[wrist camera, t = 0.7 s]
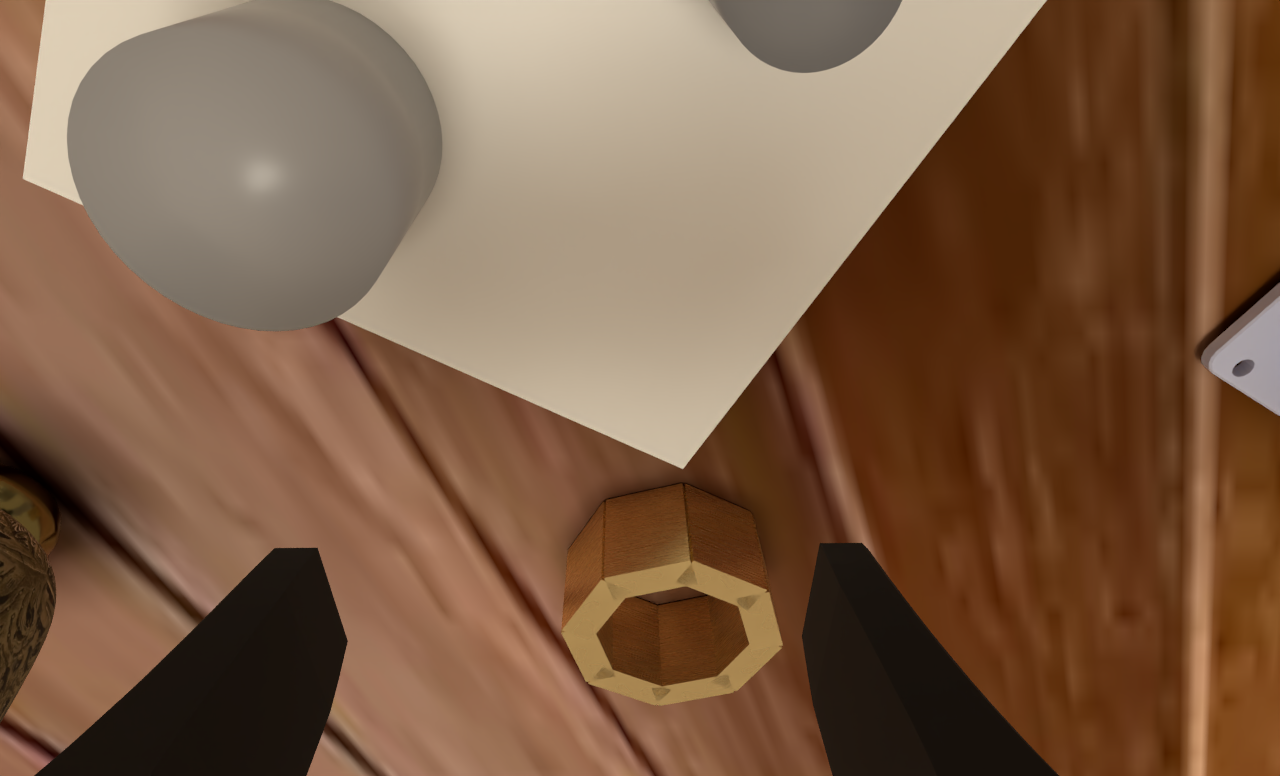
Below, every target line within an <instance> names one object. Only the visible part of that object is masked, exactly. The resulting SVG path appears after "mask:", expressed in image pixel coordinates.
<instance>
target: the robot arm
mask: <svg viewBox="0 0 1280 776" xmlns="http://www.w3.org/2000/svg"><path fill="white" fill-rule="evenodd" d="M1242 360H1243V361H1242ZM1241 361H1242V362H1241ZM1201 362H1202V364H1203V365H1204V367H1205V368H1207V369H1208V370H1209V371H1210V372H1211V373H1213V374H1214V375H1216V376H1217V377H1219V378H1220V379H1222V380H1224V381H1225V382H1227V383H1228V384H1230V385H1231V386H1233V387H1235V388H1236V389H1238V390H1239V391H1241V392H1242V393H1244V394H1246V395H1247V396H1249V397H1250V398H1252V399H1253V400H1255V401H1257V402H1258V403H1260V404H1261V405H1263V406H1264V407H1266V408H1268V409H1269V410H1271V411H1272V412H1274V413H1275V414H1277V415H1279V416H1280V283H1278V284H1277V285H1276V286H1275V287H1274V288H1273V289H1272V290H1270V291H1269V292H1268V293H1267V294H1266V295H1265V296H1264V297H1263V298H1261V299H1260V300H1259V301H1258V302H1257V303H1256V304H1255V305H1253V306H1252V307H1251V308H1250V309H1249V310H1248V311H1247V312H1246V313H1244V314H1243V315H1242V316H1241V317H1240V318H1239V319H1238V320H1236V321H1235V322H1234V323H1233V324H1232V325H1231V326H1230V327H1229V328H1227V329H1226V330H1225V331H1224V332H1223V333H1222V334H1221V335H1219V336H1218V337H1217V338H1216V339H1215V340H1214V341H1213V342H1212V343H1210V344H1209V345H1208V347H1207V348H1206V349H1205V350H1204V352H1203V354H1202V357H1201ZM1239 362H1241V363H1240V364H1239V365H1238V366H1236V367H1235V365H1236V364H1237V363H1239ZM802 639H803V645H804V652H805V658H806V665H807V671H808V677H809V683H810V689H811V695H812V700H813V706H814V710H815V713H816V717H817V721H818V724H819V728H820V732H821V735H822V739H823V742H824V746H825V750H826V753H827V757H828V760H829V764H830V768H831V771H832V775H833V776H1059V775H1058V774H1057V773H1056V772H1055V771H1054V770H1053V769H1052V768H1051V767H1050V766H1049V765H1048V764H1047V763H1046V762H1045V761H1044V760H1043V759H1042V758H1041V757H1040V756H1039V755H1038V754H1037V753H1036V752H1035V750H1034V749H1033V748H1032V747H1031V746H1030V745H1029V744H1028V743H1027V742H1026V741H1025V740H1024V739H1023V738H1022V737H1021V736H1020V735H1019V734H1018V732H1017V731H1016V730H1015V729H1014V728H1013V727H1012V726H1011V725H1010V724H1009V723H1008V722H1007V720H1006V719H1005V718H1004V717H1003V716H1002V715H1001V714H1000V713H999V712H998V711H997V709H996V708H995V707H994V706H993V705H992V704H991V703H990V702H989V701H988V699H987V698H986V697H985V696H984V695H983V694H982V693H981V691H980V690H979V689H978V688H977V687H976V686H975V685H974V683H973V682H972V681H971V680H970V679H969V678H968V676H967V675H966V674H965V673H964V672H963V670H962V669H961V668H960V667H959V666H958V664H957V663H956V662H955V661H954V660H953V658H952V657H951V656H950V655H949V654H948V652H947V651H946V650H945V649H944V648H943V646H942V645H941V644H940V643H939V642H938V640H937V639H936V638H935V637H934V635H933V634H932V633H931V632H930V630H929V629H928V628H927V627H926V625H925V624H924V623H923V622H922V620H921V619H920V618H919V616H918V615H917V614H916V613H915V611H914V610H913V609H912V607H911V606H910V605H909V603H908V602H907V601H906V600H905V598H904V597H903V596H902V594H901V593H900V592H899V590H898V589H897V588H896V586H895V585H894V584H893V582H892V581H891V580H890V578H889V577H888V576H887V574H886V573H885V572H884V570H883V569H882V567H881V566H880V565H879V563H878V562H877V561H876V559H875V558H874V557H873V555H872V554H871V552H870V551H869V550H868V549H867V548H866V547H865V546H864V545H863V544H862V543H820V546H819V551H818V556H817V561H816V566H815V571H814V577H813V582H812V587H811V592H810V597H809V603H808V608H807V613H806V618H805V623H804V628H803V634H802ZM347 642H348V641H347V638H346V635H345V632H344V628H343V625H342V622H341V619H340V616H339V613H338V610H337V607H336V604H335V601H334V598H333V595H332V591H331V588H330V585H329V582H328V579H327V576H326V573H325V570H324V567H323V564H322V561H321V557H320V554H319V551H318V548H274V549H273V550H272V551H271V552H270V553H269V554H268V555H267V556H266V557H265V558H264V559H263V560H262V561H261V562H260V563H259V564H258V565H257V566H256V567H255V568H254V569H253V570H252V571H251V572H250V573H249V574H248V575H247V576H246V577H245V578H244V579H243V580H242V581H241V582H240V583H239V584H238V585H237V586H236V587H235V588H234V589H233V590H232V591H231V592H230V593H229V594H228V595H227V596H226V597H225V598H224V599H223V600H222V601H221V602H220V603H219V604H218V605H217V606H216V607H215V608H214V609H213V610H212V611H211V612H210V613H209V614H208V615H207V616H206V617H205V618H204V619H203V620H202V621H201V622H200V623H199V624H198V625H197V626H196V627H195V628H194V629H193V630H192V631H191V632H190V633H189V634H188V635H187V636H186V637H185V638H184V639H183V640H182V641H181V642H180V643H179V644H178V645H177V646H176V647H175V648H174V649H173V650H172V651H171V652H170V653H169V654H168V655H167V656H166V657H165V658H164V659H163V660H162V661H161V662H160V663H159V664H158V665H157V666H156V667H154V668H153V669H152V670H151V671H150V672H149V673H148V674H147V675H146V676H145V677H144V678H143V679H142V680H141V681H140V682H139V683H138V684H137V685H136V686H135V687H134V688H133V689H132V690H130V691H129V692H128V693H127V694H126V695H125V696H124V697H123V698H122V699H121V700H119V701H118V702H117V703H116V704H115V705H114V706H113V707H112V708H111V709H110V710H108V711H107V712H106V713H105V714H104V715H103V716H102V717H101V718H100V719H99V720H97V721H96V722H95V723H94V724H93V725H92V726H91V727H90V728H89V729H87V730H86V731H85V732H84V733H83V734H82V735H81V736H80V737H79V738H78V739H76V740H75V741H74V742H73V743H72V744H71V745H70V746H69V747H67V748H66V749H65V750H64V751H63V752H62V753H60V754H59V755H58V756H57V757H56V758H55V759H53V760H52V761H51V762H50V763H49V764H48V765H46V766H45V767H44V768H43V769H42V770H40V771H39V772H38V773H37V774H36V775H34V776H306V775H307V772H308V770H309V767H310V765H311V762H312V759H313V757H314V754H315V751H316V749H317V746H318V743H319V741H320V738H321V735H322V733H323V730H324V727H325V724H326V722H327V719H328V716H329V713H330V710H331V707H332V703H333V699H334V695H335V691H336V688H337V684H338V680H339V676H340V671H341V667H342V663H343V659H344V654H345V650H346V646H347Z"/></svg>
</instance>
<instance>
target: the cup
mask: <svg viewBox="0 0 1280 776" xmlns="http://www.w3.org/2000/svg"><path fill="white" fill-rule="evenodd" d="M60 528H61V513H60V510H59V507H58V505H57V503H56V501H55V499H54V498H53V496H52V495H51V494H50V493H49V492H48V491H47V489H46V488H45V487H43V486H42V485H41V484H40V483H39V482H37V481H36V480H35V479H33V478H32V477H30V476H29V475H27V474H25V473H24V472H22V471H20V470H18V469H15V468H13V467H11V466H8V465H5V464H2V463H0V722H1V721H2V719H3V717H4V716H5V714H6V712H7V710H8V709H9V707H10V705H11V704H12V702H13V700H14V698H15V697H16V695H17V693H18V691H19V690H20V688H21V686H22V684H23V682H24V681H25V679H26V677H27V675H28V673H29V671H30V670H31V668H32V666H33V664H34V662H35V660H36V658H37V656H38V654H39V652H40V650H41V648H42V645H43V643H44V641H45V639H46V636H47V634H48V631H49V628H50V626H51V623H52V619H53V615H54V609H55V604H56V583H55V577H54V573H53V570H52V567H51V564H50V561H49V559H48V557H47V555H48V554H49V553H50V552H51V551H52V550H53V548H54V547H55V545H56V543H57V541H58V537H59V533H60Z"/></svg>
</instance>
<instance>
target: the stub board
mask: <svg viewBox="0 0 1280 776" xmlns="http://www.w3.org/2000/svg"><path fill="white" fill-rule="evenodd" d="M1045 2H1046V0H46V3H45V11H44V19H43V27H42V34H41V42H40V50H39V57H38V65H37V73H36V81H35V88H34V96H33V104H32V112H31V119H30V127H29V135H28V143H27V150H26V158H25V166H24V174H23V179H25V180H27V181H29V182H31V183H34V184H36V185H38V186H40V187H43V188H45V189H47V190H50V191H52V192H54V193H56V194H59V195H61V196H63V197H66V198H68V199H70V200H72V201H75V202H77V203H79V204H81V205H84V208H85V210H86V212H87V214H88V216H89V218H90V219H91V221H92V222H93V224H94V225H95V227H96V229H97V230H98V232H99V233H100V235H101V236H102V238H103V239H104V240H105V241H106V243H107V244H108V245H109V246H110V248H111V249H112V250H113V252H114V253H115V254H116V255H117V256H118V257H119V258H120V259H121V260H122V261H123V262H124V263H125V264H126V265H127V266H128V267H129V269H131V270H132V271H133V272H134V273H135V274H136V275H137V276H139V277H140V278H141V279H142V280H143V281H144V282H146V283H147V284H148V285H149V286H151V287H152V288H154V289H155V290H156V291H158V292H159V293H161V294H162V295H163V296H165V297H167V298H168V299H170V300H172V301H173V302H175V303H177V304H178V305H180V306H182V307H184V308H186V309H188V310H190V311H192V312H194V313H197V314H199V315H201V316H203V317H206V318H209V319H212V320H214V321H217V322H220V323H224V324H227V325H231V326H235V327H239V328H245V329H252V330H258V331H289V330H298V329H303V328H308V327H313V326H316V325H319V324H322V323H325V322H328V321H330V320H332V319H334V318H336V317H338V318H341V319H343V320H345V321H347V322H350V323H352V324H354V325H357V326H359V327H361V328H363V329H366V330H368V331H370V332H372V333H375V334H377V335H379V336H382V337H384V338H386V339H388V340H391V341H393V342H395V343H397V344H400V345H402V346H404V347H407V348H409V349H411V350H413V351H416V352H418V353H420V354H422V355H425V356H427V357H429V358H432V359H434V360H436V361H438V362H441V363H443V364H445V365H447V366H450V367H452V368H454V369H457V370H459V371H461V372H463V373H466V374H468V375H470V376H473V377H475V378H477V379H479V380H482V381H484V382H486V383H488V384H491V385H493V386H495V387H498V388H500V389H502V390H504V391H507V392H509V393H511V394H513V395H516V396H518V397H520V398H523V399H525V400H527V401H529V402H532V403H534V404H536V405H538V406H541V407H543V408H545V409H548V410H550V411H552V412H554V413H557V414H559V415H561V416H563V417H566V418H568V419H570V420H573V421H575V422H577V423H579V424H582V425H584V426H586V427H588V428H591V429H593V430H595V431H598V432H600V433H602V434H604V435H607V436H609V437H611V438H613V439H616V440H618V441H620V442H623V443H625V444H627V445H629V446H632V447H634V448H636V449H638V450H641V451H643V452H645V453H648V454H650V455H652V456H654V457H657V458H659V459H661V460H663V461H666V462H668V463H670V464H673V465H675V466H677V467H679V468H682V469H683V468H684V467H685V466H686V464H687V463H688V462H689V460H690V459H691V458H692V457H693V455H694V454H695V453H696V451H697V450H698V449H699V448H700V446H701V445H702V444H703V442H704V441H705V440H706V439H707V437H708V436H709V435H710V433H711V432H712V431H713V430H714V428H715V427H716V426H717V424H718V423H719V422H720V421H721V419H722V418H723V417H724V415H725V414H726V413H727V412H728V410H729V409H730V408H731V406H732V405H733V404H734V403H735V401H736V400H737V399H738V397H739V396H740V395H741V393H742V392H743V391H744V390H745V388H746V387H747V386H748V384H749V383H750V382H751V381H752V379H753V378H754V377H755V375H756V374H757V373H758V372H759V370H760V369H761V368H762V366H763V365H764V364H765V363H766V361H767V360H768V359H769V357H770V356H771V355H772V354H773V352H774V351H775V350H776V348H777V347H778V346H779V345H780V343H781V342H782V341H783V339H784V338H785V337H786V336H787V334H788V333H789V332H790V330H791V329H792V328H793V326H794V325H795V324H796V323H797V321H798V320H799V319H800V317H801V316H802V315H803V314H804V312H805V311H806V310H807V308H808V307H809V306H810V305H811V303H812V302H813V301H814V299H815V298H816V297H817V296H818V294H819V293H820V292H821V290H822V289H823V288H824V287H825V285H826V284H827V283H828V281H829V280H830V279H831V278H832V276H833V275H834V274H835V272H836V271H837V270H838V268H839V267H840V266H841V265H842V263H843V262H844V261H845V259H846V258H847V257H848V256H849V254H850V253H851V252H852V250H853V249H854V248H855V247H856V245H857V244H858V243H859V241H860V240H861V239H862V238H863V236H864V235H865V234H866V232H867V231H868V230H869V229H870V227H871V226H872V225H873V223H874V222H875V221H876V220H877V218H878V217H879V216H880V214H881V213H882V212H883V211H884V209H885V208H886V207H887V205H888V204H889V203H890V201H891V200H892V199H893V198H894V196H895V195H896V194H897V192H898V191H899V190H900V189H901V187H902V186H903V185H904V183H905V182H906V181H907V180H908V178H909V177H910V176H911V174H912V173H913V172H914V171H915V169H916V168H917V167H918V165H919V164H920V163H921V162H922V160H923V159H924V158H925V156H926V155H927V154H928V153H929V151H930V150H931V149H932V147H933V146H934V145H935V144H936V142H937V141H938V140H939V138H940V137H941V136H942V134H943V133H944V132H945V131H946V129H947V128H948V127H949V125H950V124H951V123H952V122H953V120H954V119H955V118H956V116H957V115H958V114H959V113H960V111H961V110H962V109H963V107H964V106H965V105H966V104H967V102H968V101H969V100H970V98H971V97H972V96H973V95H974V93H975V92H976V91H977V89H978V88H979V87H980V86H981V84H982V83H983V82H984V80H985V79H986V78H987V77H988V75H989V74H990V73H991V71H992V70H993V69H994V67H995V66H996V65H997V64H998V62H999V61H1000V60H1001V58H1002V57H1003V56H1004V55H1005V53H1006V52H1007V51H1008V49H1009V48H1010V47H1011V46H1012V44H1013V43H1014V42H1015V40H1016V39H1017V38H1018V37H1019V35H1020V34H1021V33H1022V31H1023V30H1024V29H1025V28H1026V26H1027V25H1028V24H1029V22H1030V21H1031V20H1032V19H1033V17H1034V16H1035V15H1036V13H1037V12H1038V11H1039V10H1040V8H1041V7H1042V6H1043V4H1044V3H1045Z"/></svg>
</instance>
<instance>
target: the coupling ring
mask: <svg viewBox="0 0 1280 776" xmlns="http://www.w3.org/2000/svg"><path fill="white" fill-rule="evenodd" d="M684 586H687V587H690V588H692V589H695V590H697V591H700V592H703V593H705V594H708V596H704V597H699V598H694V599H689V600H684V601H678V602H673V603H668V604H663V605H655V604H653V603H650V602H647V601H644V600H642V599H639V598H636V597H634V596H639V595H644V594H649V593H654V592H659V591H664V590H669V589H674V588H679V587H684ZM561 633H562V635H563V637H564V639H565V641H566V643H567V645H568V647H569V649H570V651H571V653H572V655H573V657H574V659H575V661H576V663H577V665H578V667H579V669H580V671H581V673H582V675H583V677H584V679H585V681H586V682H588V684H591V685H594V686H597V687H600V688H603V689H606V690H610V691H613V692H616V693H619V694H622V695H625V696H628V697H631V698H634V699H637V700H640V701H643V702H646V703H649V704H652V705H655V706H656V705H657V704H658V705H659V706H661V705H667V704H673V703H678V702H684V701H689V700H695V699H700V698H706V697H712V696H717V695H723V694H728V693H734V691H737V690H738V689H739V688H741V687H742V686H743V685H744V684H745V683H746V682H747V681H748V680H749V679H750V678H751V677H752V676H753V675H754V674H755V673H756V672H757V671H758V670H759V669H760V668H761V667H762V666H763V665H764V664H765V663H767V662H768V661H769V660H770V659H771V658H772V657H773V656H774V655H775V654H776V653H777V652H778V651H779V650H780V649H781V648H782V645H783V644H782V639H781V634H780V630H779V625H778V620H777V616H776V611H775V606H774V602H773V597H772V592H771V587H770V583H769V578H768V573H767V569H766V564H765V560H764V556H763V552H762V548H761V544H760V540H759V537H758V533H757V529H756V525H755V521H754V517H753V514H751V512H750V511H748V510H746V509H743V508H741V507H739V506H736V505H734V504H732V503H729V502H727V501H725V500H722V499H720V498H718V497H716V496H713V495H711V494H709V493H706V492H704V491H702V490H699V489H697V488H695V487H693V486H690V485H688V484H685V485H684V486H683V484H682V483H681V484H676V485H672V486H667V487H663V488H658V489H653V490H649V491H644V492H640V493H635V494H630V495H626V496H621V497H617V498H612V499H607V500H606V502H604V501H603V503H602V504H601V505H600V507H599V508H598V510H597V511H596V512H595V514H594V515H593V516H592V518H591V519H590V521H589V522H588V523H587V525H586V526H585V528H584V529H583V530H582V532H581V533H580V534H579V536H578V537H577V539H576V540H575V541H574V543H573V544H572V545H571V547H570V548H569V550H568V556H567V568H566V580H565V593H564V605H563V617H562V630H561Z"/></svg>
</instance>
